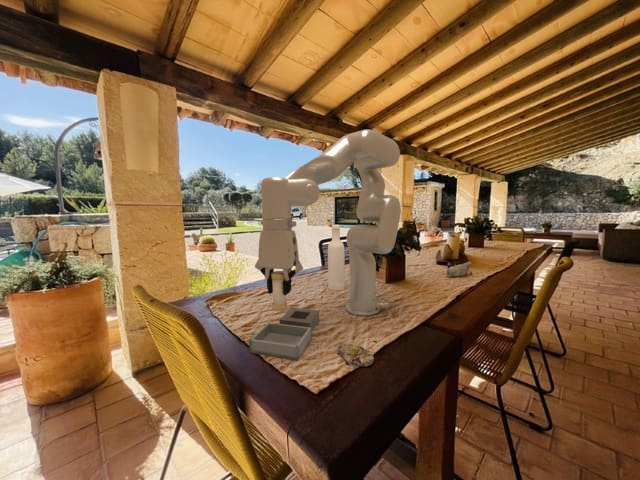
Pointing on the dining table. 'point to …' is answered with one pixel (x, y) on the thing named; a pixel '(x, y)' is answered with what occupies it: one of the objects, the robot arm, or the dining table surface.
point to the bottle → (336, 261)
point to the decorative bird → (459, 270)
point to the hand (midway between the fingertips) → (279, 292)
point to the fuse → (278, 291)
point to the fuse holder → (301, 317)
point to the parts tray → (281, 340)
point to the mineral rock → (355, 355)
